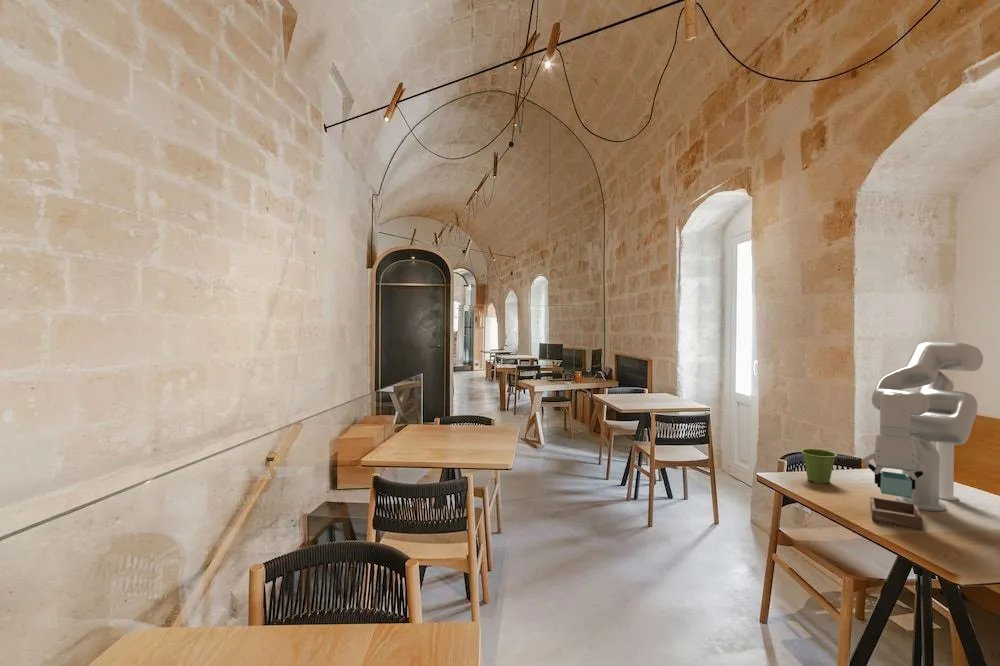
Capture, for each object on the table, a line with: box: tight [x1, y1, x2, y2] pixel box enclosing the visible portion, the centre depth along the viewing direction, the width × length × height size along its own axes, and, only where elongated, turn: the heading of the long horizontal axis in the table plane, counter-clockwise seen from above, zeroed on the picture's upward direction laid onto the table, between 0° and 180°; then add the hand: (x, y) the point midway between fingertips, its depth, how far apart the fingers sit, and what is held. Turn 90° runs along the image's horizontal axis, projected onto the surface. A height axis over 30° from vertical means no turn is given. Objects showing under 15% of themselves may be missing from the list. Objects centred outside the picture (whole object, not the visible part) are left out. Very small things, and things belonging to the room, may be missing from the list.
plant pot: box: [800, 448, 838, 485], centre depth 188 cm, size 12×12×11 cm
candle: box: [936, 442, 959, 501], centre depth 170 cm, size 7×7×25 cm
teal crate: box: [879, 470, 912, 498], centre depth 150 cm, size 10×7×5 cm
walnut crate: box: [869, 496, 923, 531], centre depth 151 cm, size 15×12×4 cm
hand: (894, 488), depth 151 cm, fingers closed on teal crate, 7 cm apart
